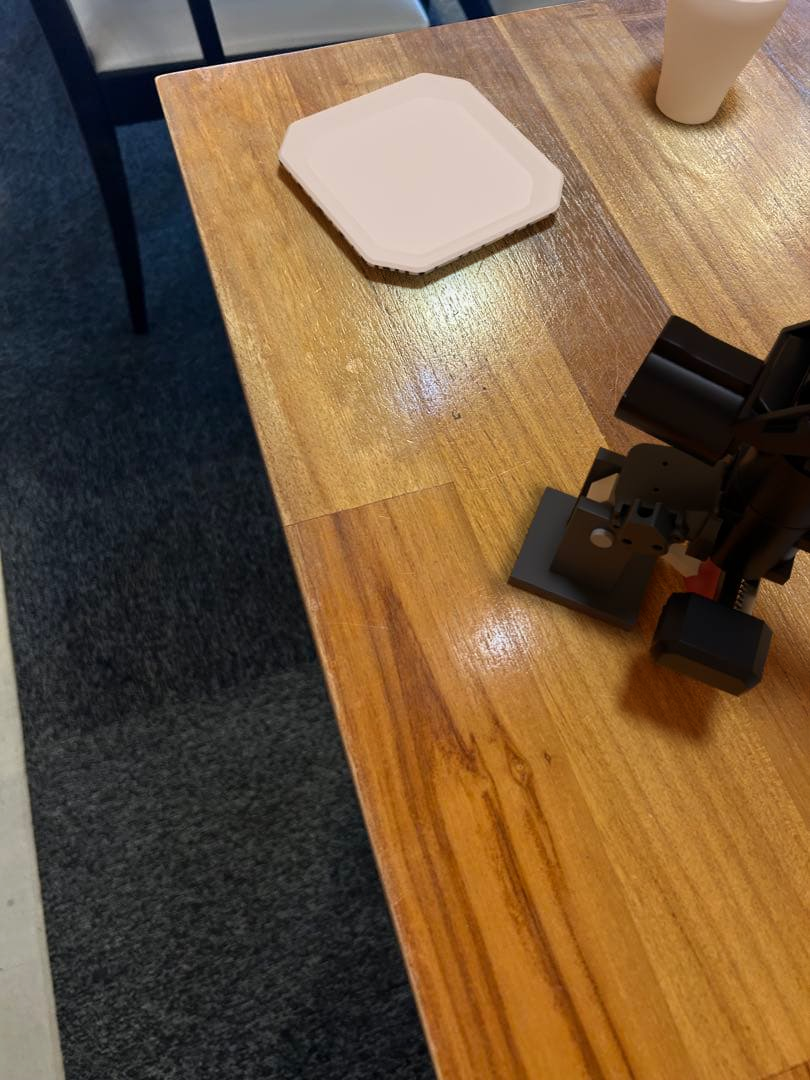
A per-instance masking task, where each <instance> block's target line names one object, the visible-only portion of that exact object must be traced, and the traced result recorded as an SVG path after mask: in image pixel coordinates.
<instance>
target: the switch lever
mask: <svg viewBox="0 0 810 1080" xmlns="http://www.w3.org/2000/svg"><path fill="white" fill-rule="evenodd" d="M619 476H620V474H618V473H616V474H614V475H611V476H609V477H606V478H603V479H601V480H598V481H596V482H593V483H592V484H591V487H590V489H589V492H588V495H587V498H589V499H592V500H595V501H597V502H600V503H603V504H605V505H608V506H610V507H613V508H615V506H616V504H615V495H614V490H615V487H616V484H617V481H618V479H619ZM686 549H687V547H684V546H683V545H682V544H677V543H674V544H672V545H671V546H670V547H669V551H668V553H667V554H666V555H663V556H660V558H662V559H663V560H664V561H665V562H666V563H668V564H669V565H670V566H671V567H673V568H674V569H675V570H676V571H677V572H678V573H680V574H681V575H682V576H683V580H682V582H683V587H684V589H685V592H694V593H697V594H699V595H702V596H704V597H707V598H709V599H712V600H713V597H714V593H715V590H716V586H717V583H718V579H719V576H720V572H721V569H720V568H718V567H717V566H716V565H715V564H714V563H713V562H712V561H711V560H710V557H709V558H708V560H707V561H705V562H703V561H700V560H698V559H695V558H693V557H690V556H688V555H685V552H686Z"/></svg>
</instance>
